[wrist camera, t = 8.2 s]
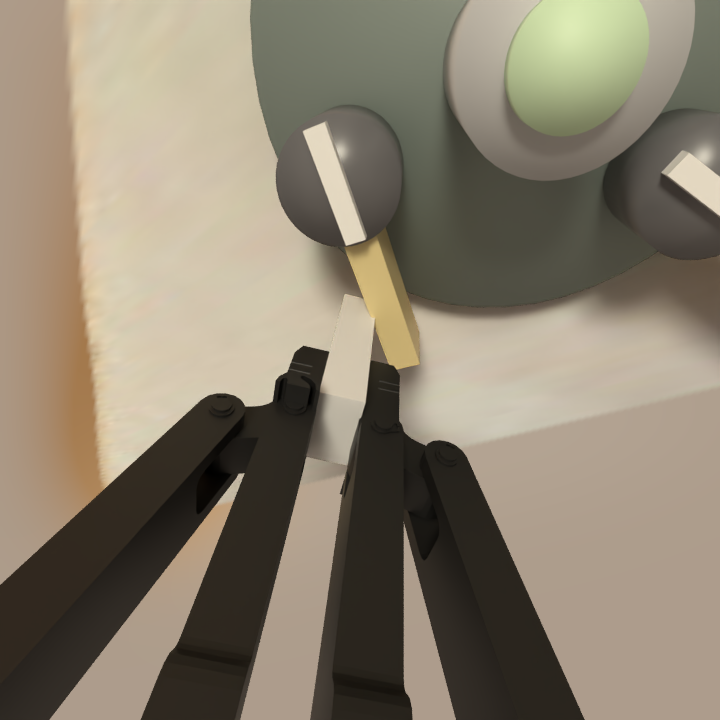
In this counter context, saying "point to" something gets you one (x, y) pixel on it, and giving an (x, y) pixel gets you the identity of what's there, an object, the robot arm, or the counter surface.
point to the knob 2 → (671, 184)
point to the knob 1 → (353, 210)
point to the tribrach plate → (440, 164)
